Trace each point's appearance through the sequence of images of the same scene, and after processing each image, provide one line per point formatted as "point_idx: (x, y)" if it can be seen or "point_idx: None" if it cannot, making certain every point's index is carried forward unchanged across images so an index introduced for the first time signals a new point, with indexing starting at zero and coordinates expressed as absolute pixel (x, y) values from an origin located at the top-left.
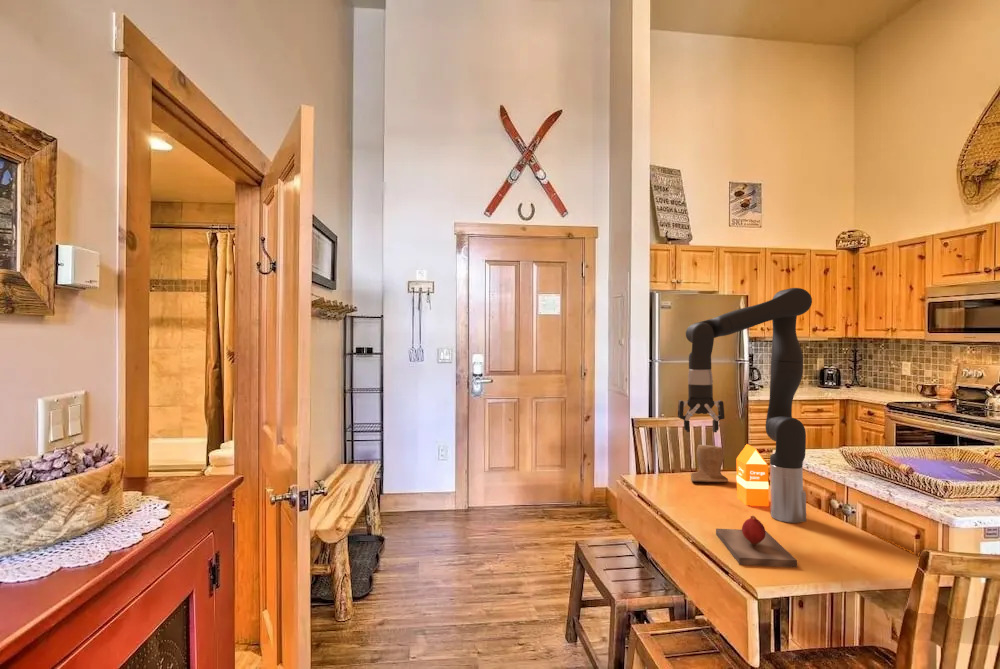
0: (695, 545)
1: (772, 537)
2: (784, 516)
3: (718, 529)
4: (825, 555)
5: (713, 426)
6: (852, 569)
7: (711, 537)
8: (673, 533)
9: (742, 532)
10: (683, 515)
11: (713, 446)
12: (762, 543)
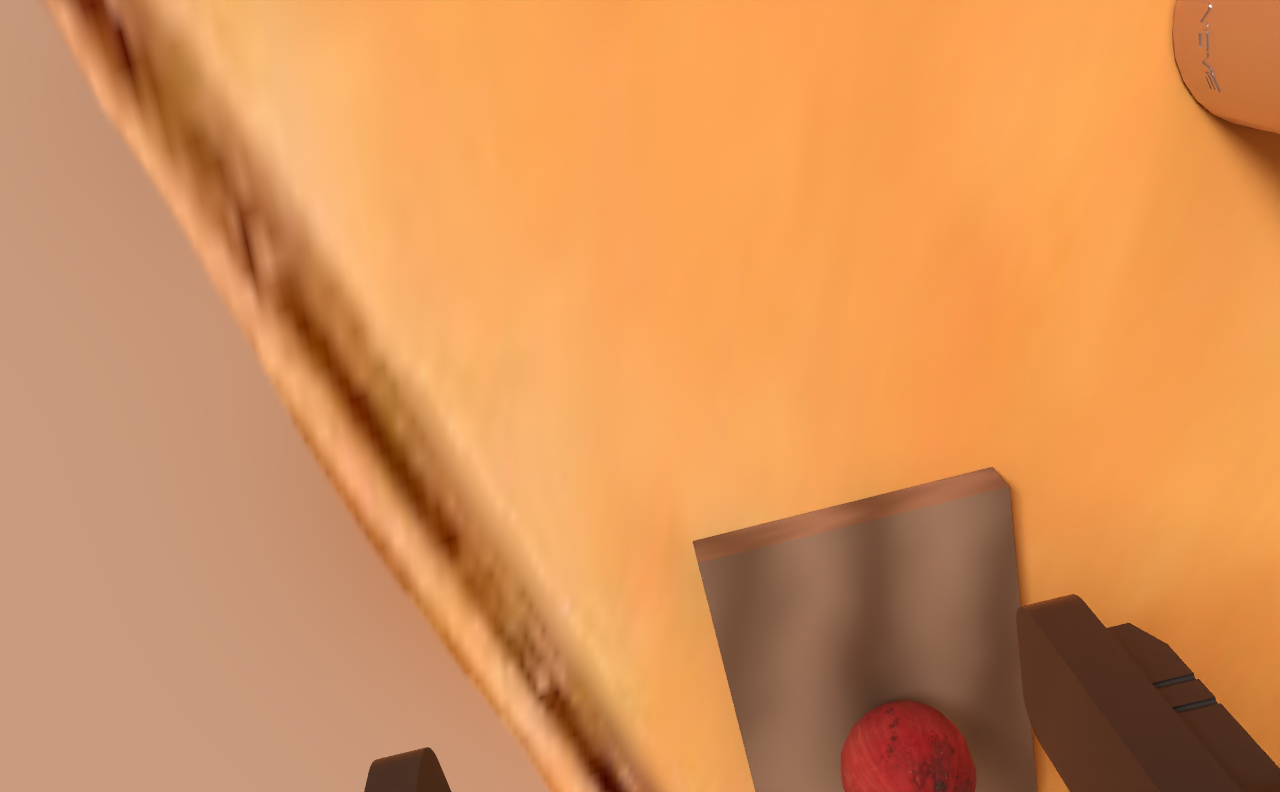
0: (570, 728)
1: (1016, 581)
2: (1256, 127)
3: (712, 573)
4: (1224, 610)
5: (1086, 750)
6: (1268, 717)
7: (662, 592)
8: (433, 615)
9: (841, 764)
10: (465, 244)
11: None
12: (932, 684)
